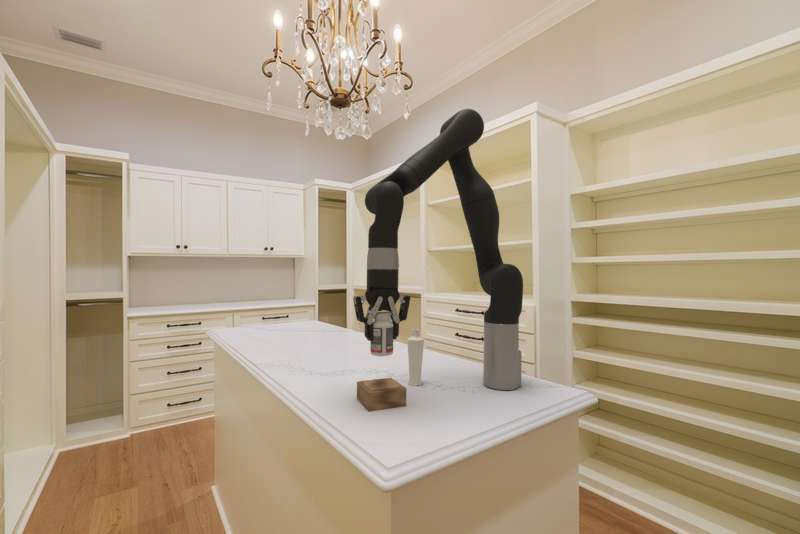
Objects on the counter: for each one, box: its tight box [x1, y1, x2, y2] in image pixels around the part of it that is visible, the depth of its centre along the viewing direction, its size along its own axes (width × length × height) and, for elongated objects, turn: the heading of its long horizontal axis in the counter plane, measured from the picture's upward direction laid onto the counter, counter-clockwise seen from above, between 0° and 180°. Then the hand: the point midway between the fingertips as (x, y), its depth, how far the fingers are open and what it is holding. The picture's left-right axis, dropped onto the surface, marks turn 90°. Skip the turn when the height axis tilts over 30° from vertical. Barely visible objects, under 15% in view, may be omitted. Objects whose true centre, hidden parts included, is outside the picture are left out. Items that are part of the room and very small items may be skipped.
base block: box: [356, 377, 407, 412], centre depth 86 cm, size 9×9×4 cm
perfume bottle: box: [407, 328, 425, 387], centre depth 101 cm, size 5×4×15 cm
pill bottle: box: [370, 311, 394, 357], centre depth 86 cm, size 5×5×10 cm
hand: (381, 339), depth 86 cm, fingers closed on pill bottle, 5 cm apart
